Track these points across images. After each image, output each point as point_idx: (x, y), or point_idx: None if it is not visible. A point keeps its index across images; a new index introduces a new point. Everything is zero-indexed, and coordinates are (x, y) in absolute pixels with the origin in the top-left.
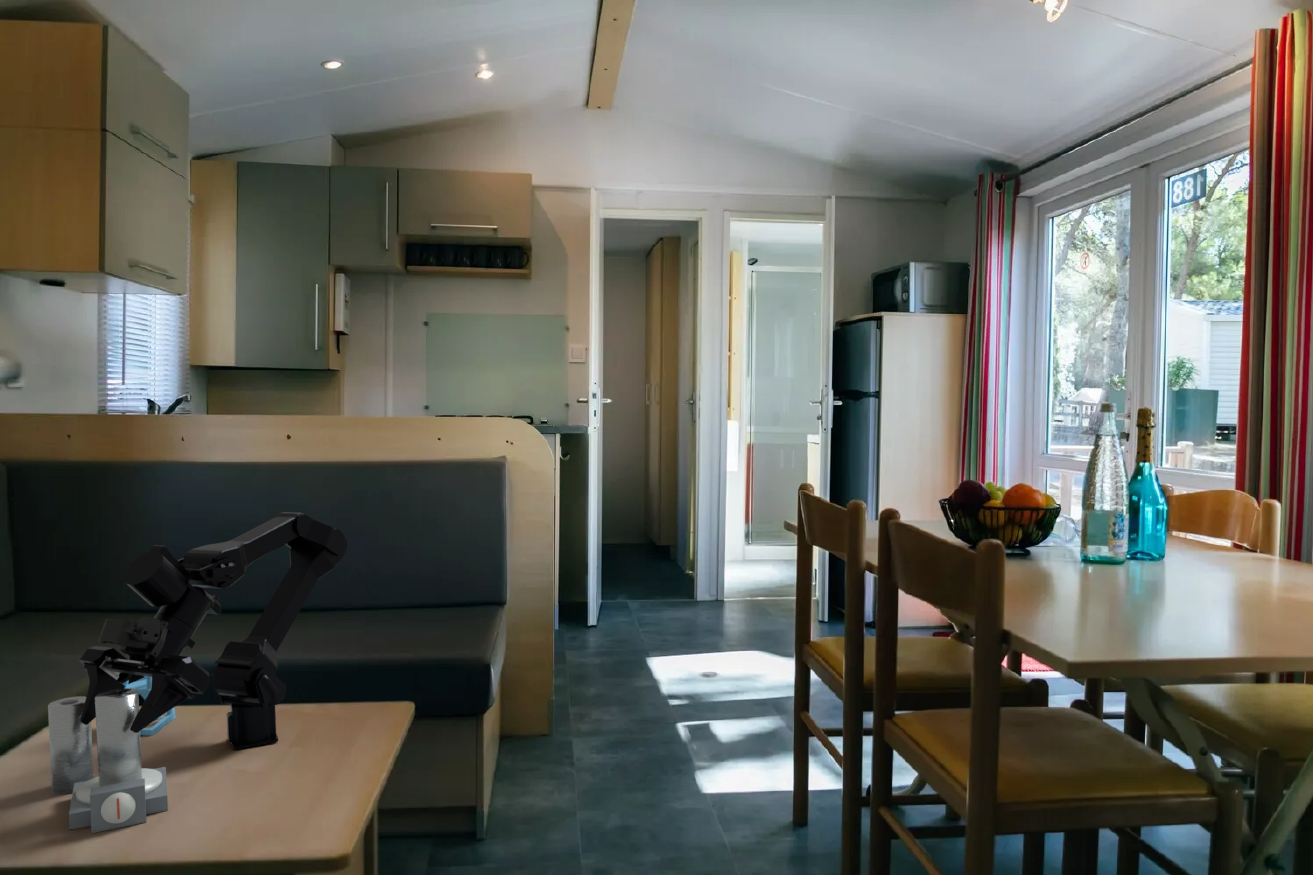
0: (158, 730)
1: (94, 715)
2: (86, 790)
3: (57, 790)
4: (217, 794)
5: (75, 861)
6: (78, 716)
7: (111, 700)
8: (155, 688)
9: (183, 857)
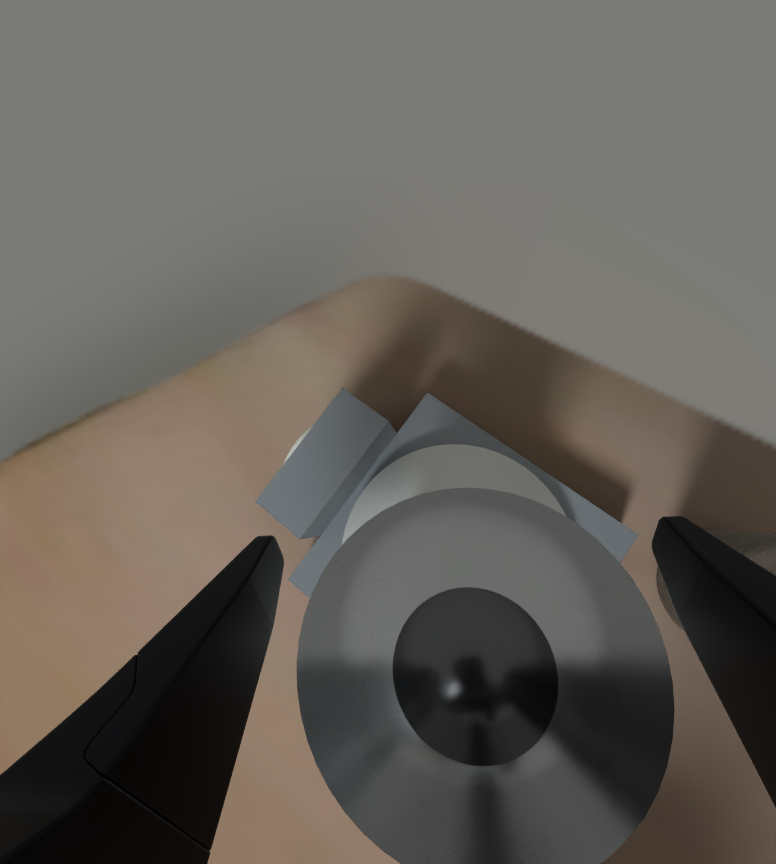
0: None
1: (684, 610)
2: (499, 482)
3: (706, 530)
4: (259, 701)
5: (280, 326)
6: None
7: (360, 528)
8: (19, 805)
9: (99, 425)
